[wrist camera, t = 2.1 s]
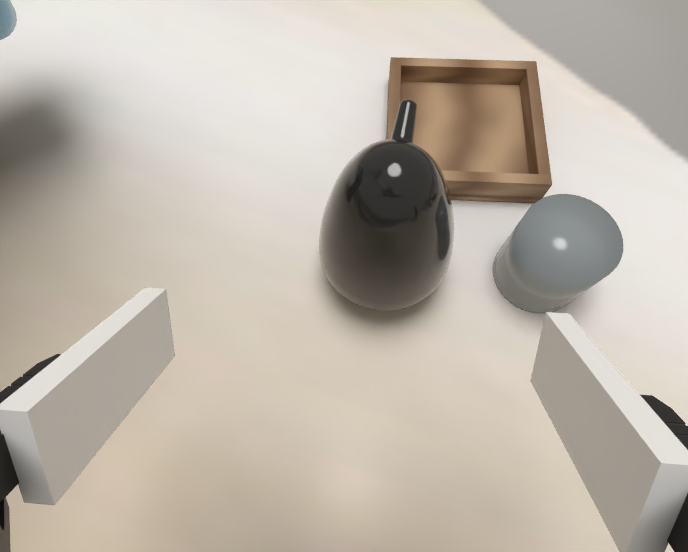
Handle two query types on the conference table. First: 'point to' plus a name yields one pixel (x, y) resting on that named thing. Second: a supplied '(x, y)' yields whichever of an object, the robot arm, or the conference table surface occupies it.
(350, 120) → the conference table surface
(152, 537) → the conference table surface
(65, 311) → the conference table surface
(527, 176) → the tray
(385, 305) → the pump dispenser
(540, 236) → the grey round-ended cylinder
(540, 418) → the conference table surface
